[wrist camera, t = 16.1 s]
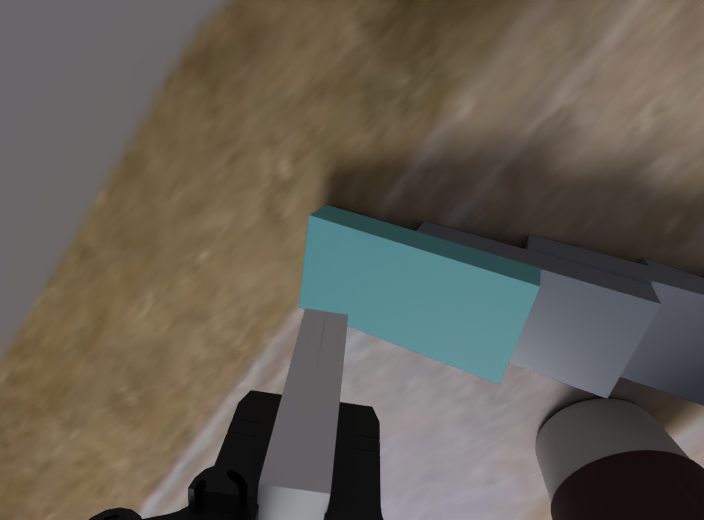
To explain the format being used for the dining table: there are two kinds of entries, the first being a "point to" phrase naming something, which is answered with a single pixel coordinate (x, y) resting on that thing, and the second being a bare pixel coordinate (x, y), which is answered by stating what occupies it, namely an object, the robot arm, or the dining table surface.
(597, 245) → the dining table surface
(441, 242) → the domino
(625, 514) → the coffee cup
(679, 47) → the dining table surface
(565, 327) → the domino
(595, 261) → the domino
